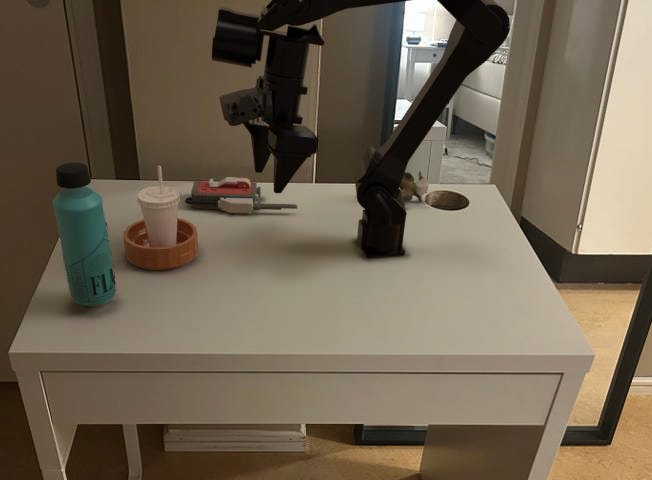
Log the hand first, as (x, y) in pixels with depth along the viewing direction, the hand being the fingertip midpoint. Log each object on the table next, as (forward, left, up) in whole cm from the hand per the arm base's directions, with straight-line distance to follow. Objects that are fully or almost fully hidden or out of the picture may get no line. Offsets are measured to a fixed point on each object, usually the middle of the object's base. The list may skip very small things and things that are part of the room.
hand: (267, 182), depth 106 cm
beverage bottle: (+27, +12, -12) cm, 32 cm away
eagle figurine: (-27, -15, -12) cm, 33 cm away
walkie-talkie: (+2, -18, -12) cm, 21 cm away
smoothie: (+16, -1, -11) cm, 20 cm away
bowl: (+17, -1, -11) cm, 20 cm away
